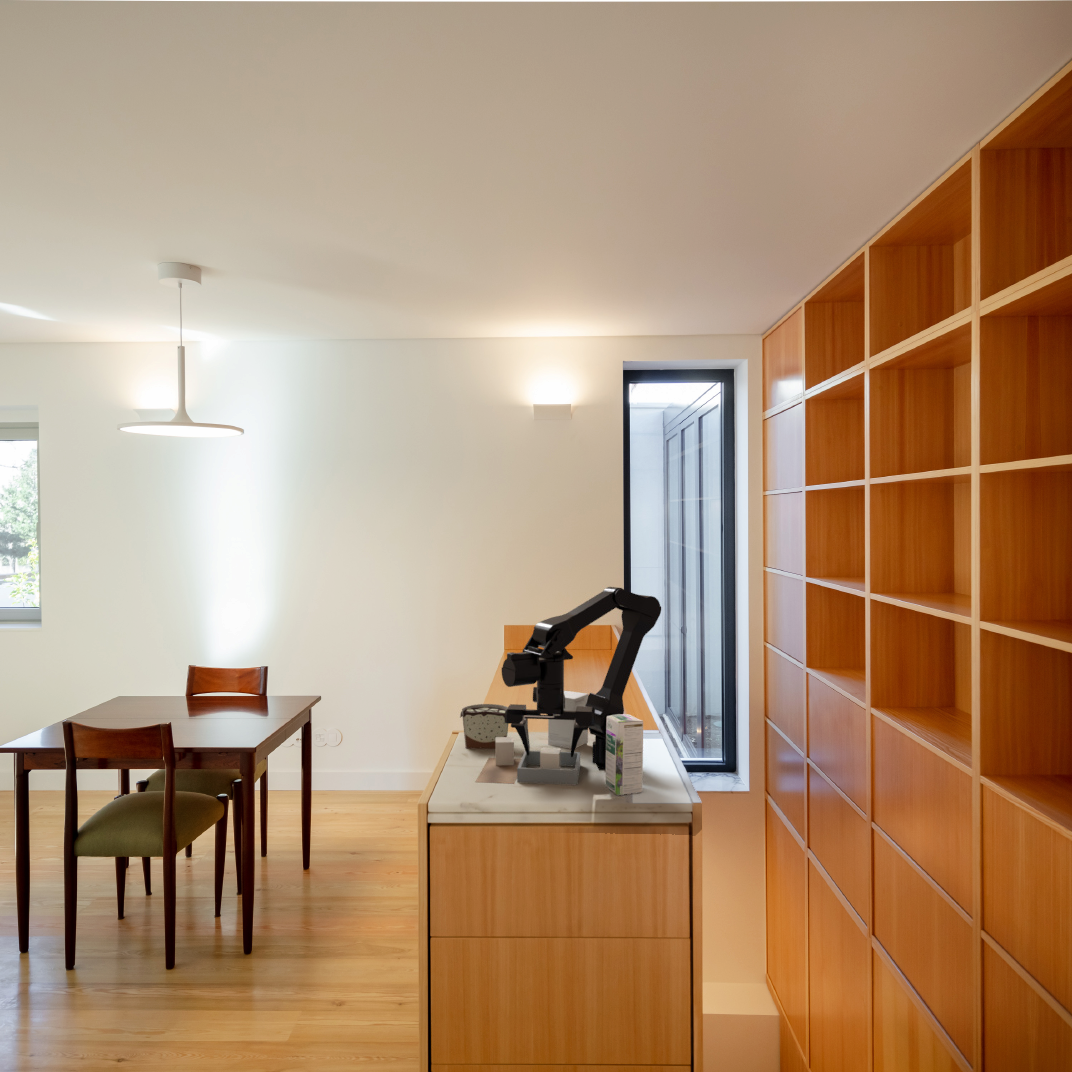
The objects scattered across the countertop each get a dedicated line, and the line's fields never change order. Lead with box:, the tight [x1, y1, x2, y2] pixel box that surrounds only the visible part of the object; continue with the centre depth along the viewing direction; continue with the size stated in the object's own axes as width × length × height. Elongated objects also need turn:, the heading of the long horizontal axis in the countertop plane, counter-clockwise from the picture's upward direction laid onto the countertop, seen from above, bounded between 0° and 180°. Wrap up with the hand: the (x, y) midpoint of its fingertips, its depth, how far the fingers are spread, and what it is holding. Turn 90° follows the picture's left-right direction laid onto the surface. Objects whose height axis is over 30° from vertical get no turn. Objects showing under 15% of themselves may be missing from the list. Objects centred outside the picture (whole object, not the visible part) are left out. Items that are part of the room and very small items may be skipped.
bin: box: [516, 750, 581, 786], centre depth 150 cm, size 12×12×4 cm
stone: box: [539, 747, 562, 769], centre depth 150 cm, size 4×4×5 cm
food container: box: [459, 703, 509, 750], centre depth 170 cm, size 12×6×10 cm, turn 84°
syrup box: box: [604, 713, 644, 796], centre depth 143 cm, size 6×6×14 cm
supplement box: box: [547, 690, 589, 750], centre depth 172 cm, size 7×7×13 cm
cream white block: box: [494, 736, 515, 765], centre depth 157 cm, size 4×4×5 cm
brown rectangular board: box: [474, 757, 521, 785], centre depth 152 cm, size 8×16×1 cm, turn 174°
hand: (550, 755), depth 150 cm, fingers open, 9 cm apart
